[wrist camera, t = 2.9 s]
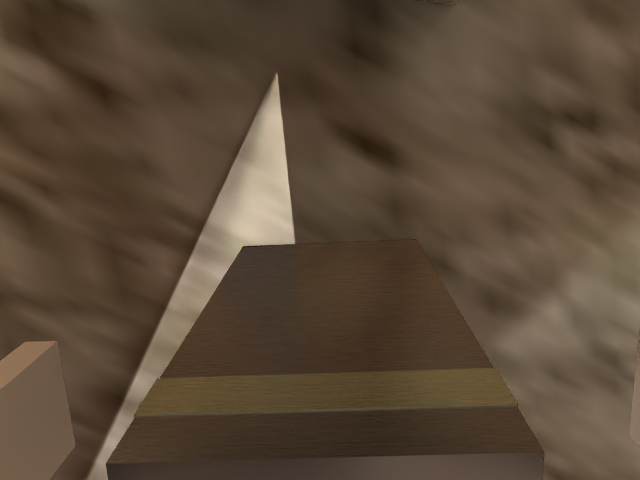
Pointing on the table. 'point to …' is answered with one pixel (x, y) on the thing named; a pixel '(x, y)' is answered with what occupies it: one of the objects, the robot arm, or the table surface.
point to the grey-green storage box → (442, 1)
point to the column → (329, 379)
